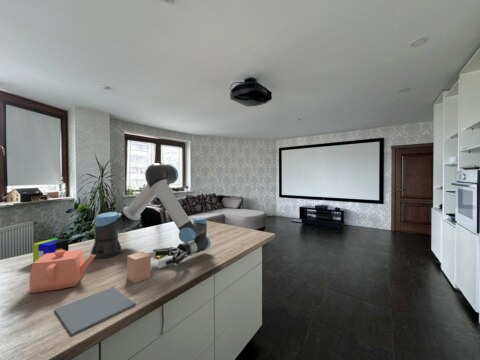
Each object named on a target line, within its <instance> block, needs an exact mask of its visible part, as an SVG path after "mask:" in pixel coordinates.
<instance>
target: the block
mask: <svg viewBox="0 0 480 360" xmlns="http://www.w3.org/2000/svg"><path fill="white" fill-rule="evenodd" d="M126 257H127V258H126V260H127V262H126V266H127V267H126V271H127V272H126V279H128V280H129V281H131V282H132V283H134V284H136V283H139V282H141V281H144V280H146V279H149V278H151V269H152V267H151V261H152V258H151V255H149V254H147V252H144V251H140V252H136V253H132V254H129V255H127V256H126Z"/></svg>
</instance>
